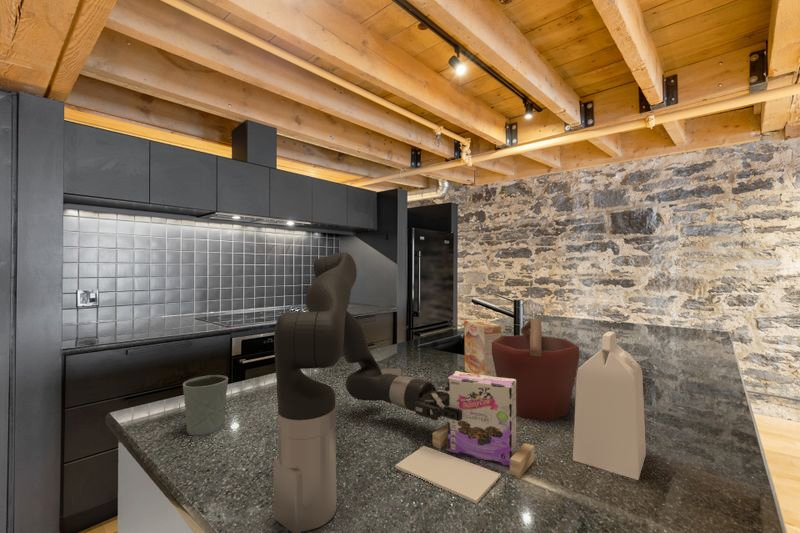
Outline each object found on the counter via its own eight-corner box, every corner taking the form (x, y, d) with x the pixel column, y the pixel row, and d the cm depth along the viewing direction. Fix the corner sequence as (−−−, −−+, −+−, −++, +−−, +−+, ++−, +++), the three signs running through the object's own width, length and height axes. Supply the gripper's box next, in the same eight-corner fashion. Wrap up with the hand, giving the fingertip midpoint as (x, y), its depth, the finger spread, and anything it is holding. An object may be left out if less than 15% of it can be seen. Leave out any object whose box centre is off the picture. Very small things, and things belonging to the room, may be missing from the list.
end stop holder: (520, 477, 70) (519, 462, 70) (432, 446, 83) (432, 432, 83) (534, 460, 76) (534, 445, 76) (451, 433, 89) (451, 420, 89)
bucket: (508, 388, 120) (507, 312, 120) (583, 401, 109) (583, 316, 109) (484, 415, 99) (483, 323, 99) (574, 434, 88) (574, 329, 88)
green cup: (178, 439, 88) (177, 388, 87) (190, 421, 97) (189, 376, 97) (224, 433, 90) (223, 384, 90) (231, 416, 100) (231, 372, 100)
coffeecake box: (464, 370, 141) (463, 319, 141) (480, 368, 143) (480, 318, 143) (484, 382, 127) (483, 325, 127) (502, 380, 129) (501, 324, 129)
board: (476, 504, 63) (476, 500, 63) (395, 468, 74) (395, 465, 74) (500, 477, 71) (500, 474, 71) (423, 448, 82) (423, 445, 82)
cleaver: (400, 397, 114) (400, 390, 114) (369, 397, 114) (369, 390, 114) (401, 370, 143) (401, 365, 143) (376, 371, 144) (376, 365, 144)
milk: (586, 438, 86) (586, 327, 86) (645, 454, 78) (645, 332, 78) (572, 460, 76) (571, 335, 76) (638, 480, 69) (637, 342, 69)
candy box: (447, 452, 80) (446, 376, 80) (455, 440, 85) (455, 369, 85) (512, 467, 74) (511, 386, 74) (517, 454, 79) (516, 377, 79)
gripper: (393, 386, 86) (454, 402, 75) (428, 372, 97) (485, 384, 87) (393, 418, 86) (454, 438, 76) (428, 400, 97) (485, 415, 87)
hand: (470, 409), depth 81 cm, fingers open, 8 cm apart
